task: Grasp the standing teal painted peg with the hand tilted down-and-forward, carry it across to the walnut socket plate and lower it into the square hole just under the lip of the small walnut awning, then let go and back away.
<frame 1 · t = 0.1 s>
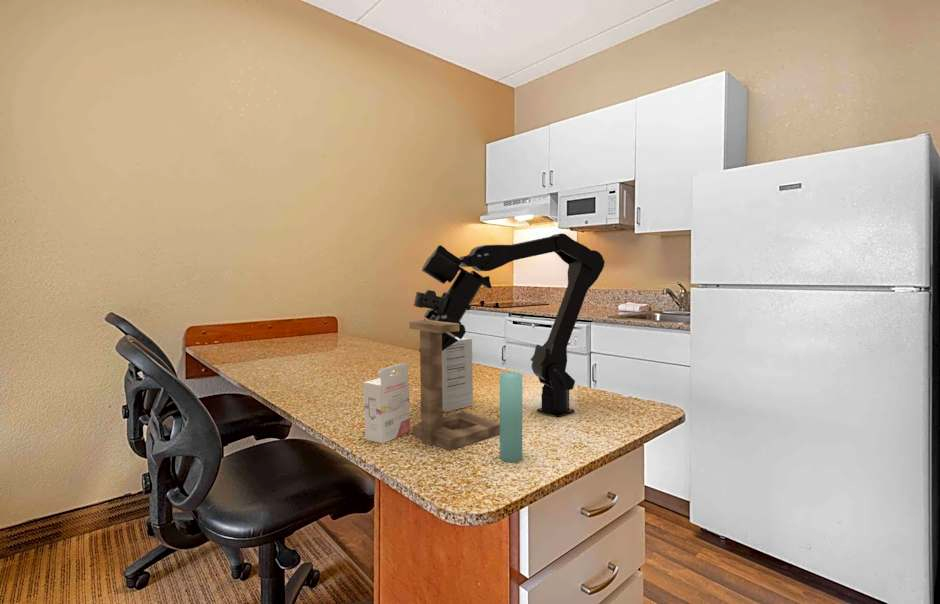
hand: (423, 355, 104), 15 cm above the countertop, tool tilted 35°, fingers open, 9 cm apart
socket stand: (457, 434, 98), on the countertop
peg: (511, 457, 85), on the countertop
supplement box: (447, 406, 119), on the countertop
supplement bottle: (387, 414, 112), on the countertop
ink cartridge box: (387, 436, 97), on the countertop
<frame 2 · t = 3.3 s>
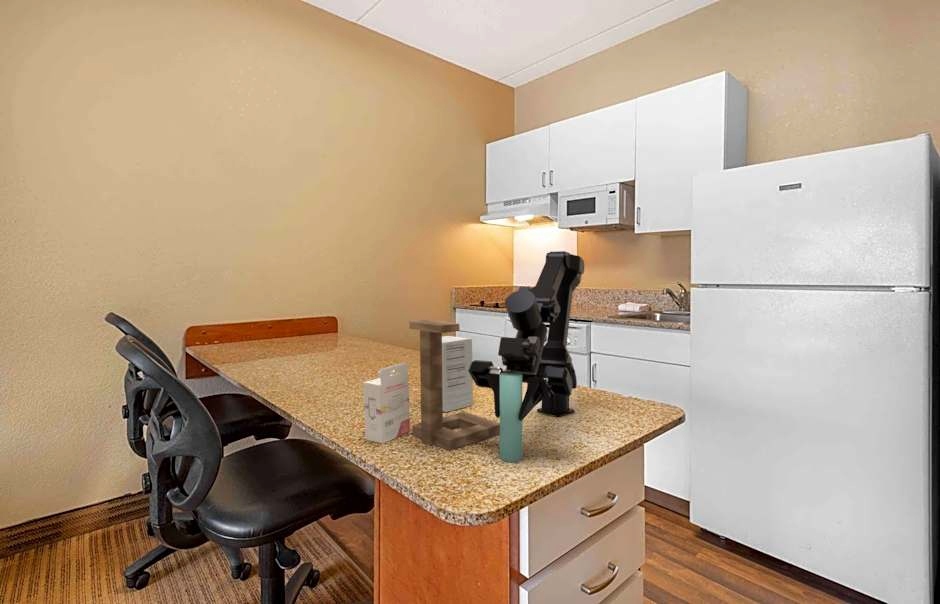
hand: (508, 418, 83), 8 cm above the countertop, tool tilted 45°, fingers closed on peg, 4 cm apart
peg: (511, 457, 85), on the countertop, touching gripper
everything else where it was.
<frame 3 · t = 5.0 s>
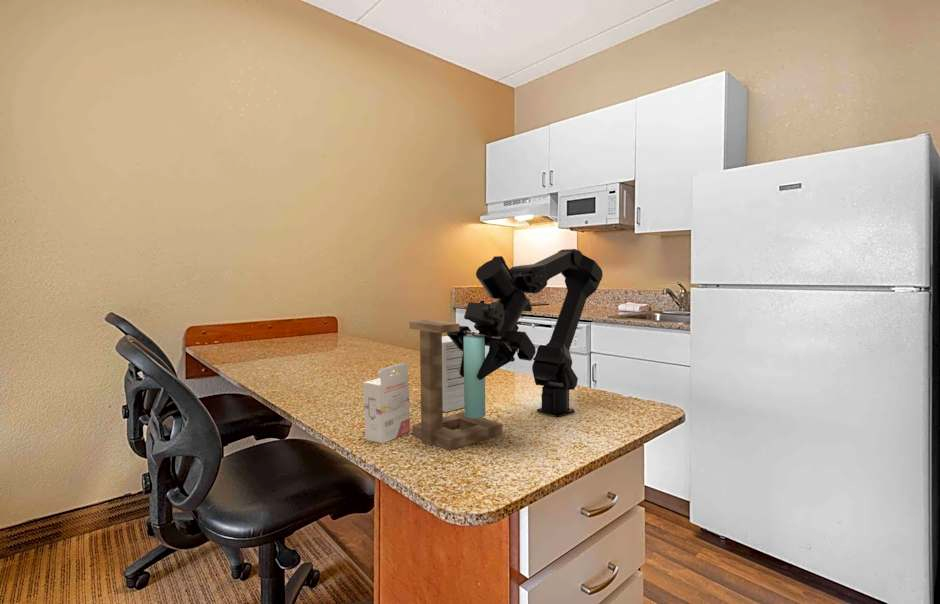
hand: (469, 377, 90), 13 cm above the countertop, tool tilted 45°, fingers closed on peg, 4 cm apart
peg: (474, 415, 91), point 6 cm above the countertop, touching gripper
everything else where it was.
when the fingers open (9 cm above the countertop, at t = 7.0 s): peg stays where it is, resting in socket stand.
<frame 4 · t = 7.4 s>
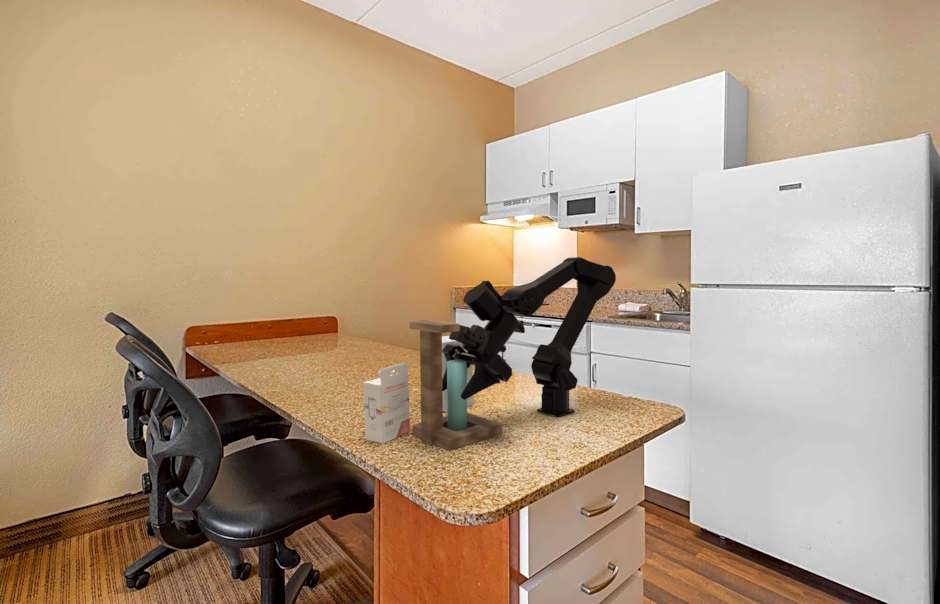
hand: (451, 394, 96), 9 cm above the countertop, tool tilted 45°, fingers open, 8 cm apart
peg: (457, 434, 98), resting in socket stand
everything else where it was.
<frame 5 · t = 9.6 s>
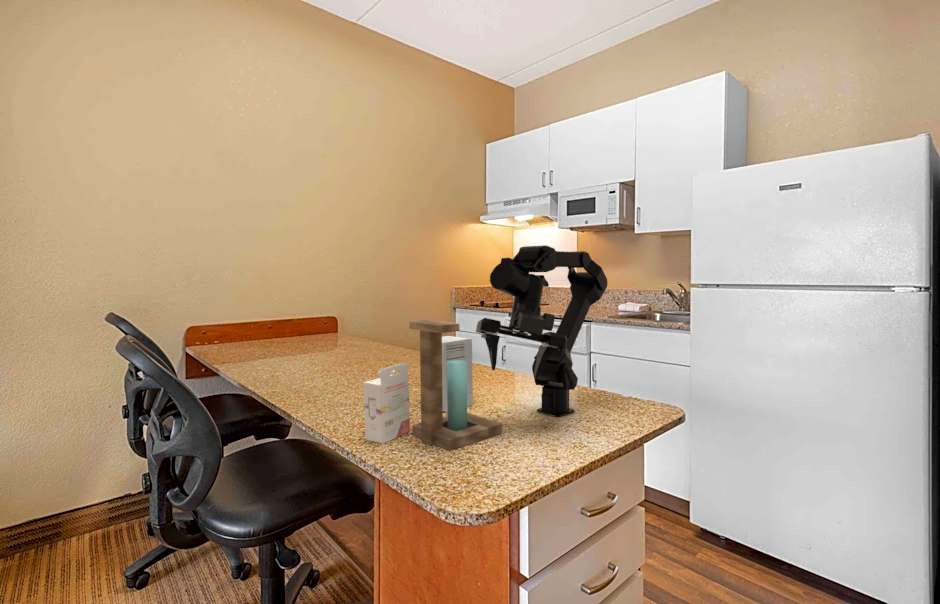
hand: (514, 374, 100), 12 cm above the countertop, tool tilted 15°, fingers open, 9 cm apart
nothing on the countertop moved.
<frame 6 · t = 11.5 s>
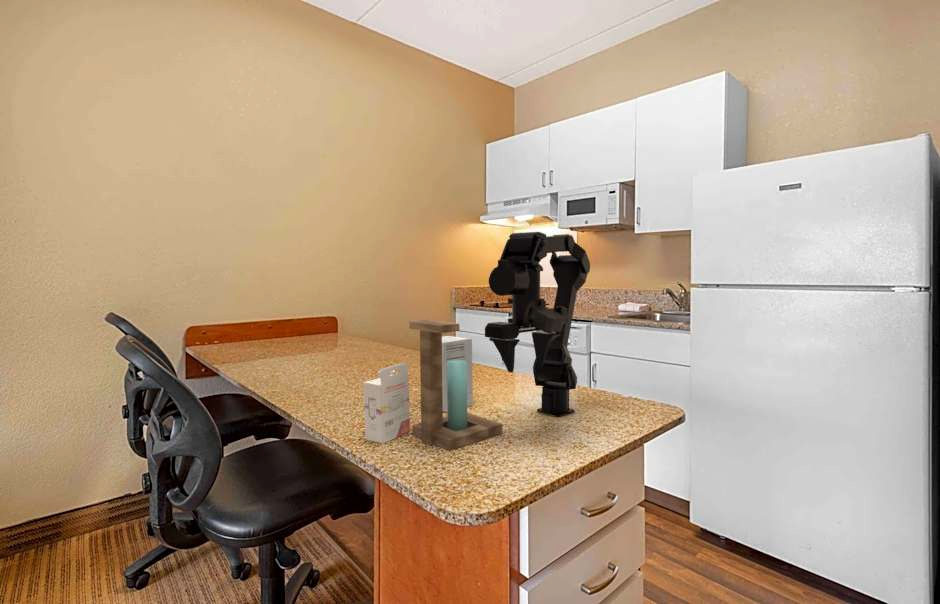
hand: (526, 369, 99), 13 cm above the countertop, tool pointing down, fingers open, 9 cm apart
nothing on the countertop moved.
at the end: peg 0.0 cm off-centre on the socket stand, point 0.0 cm above the socket stand's base; peg tilted 0°; the gripper is holding nothing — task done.
